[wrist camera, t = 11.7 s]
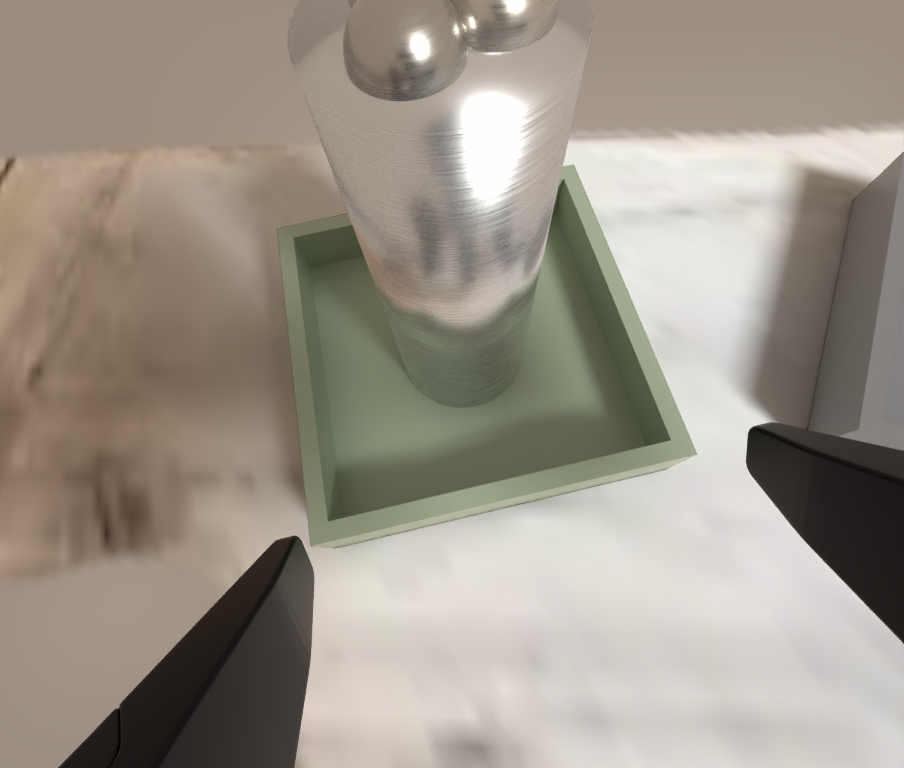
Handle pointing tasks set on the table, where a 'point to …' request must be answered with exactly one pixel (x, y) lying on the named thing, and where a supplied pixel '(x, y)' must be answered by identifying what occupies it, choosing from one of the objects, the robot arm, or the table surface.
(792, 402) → the table surface
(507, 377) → the pebble canister
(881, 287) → the tray
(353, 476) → the tray
